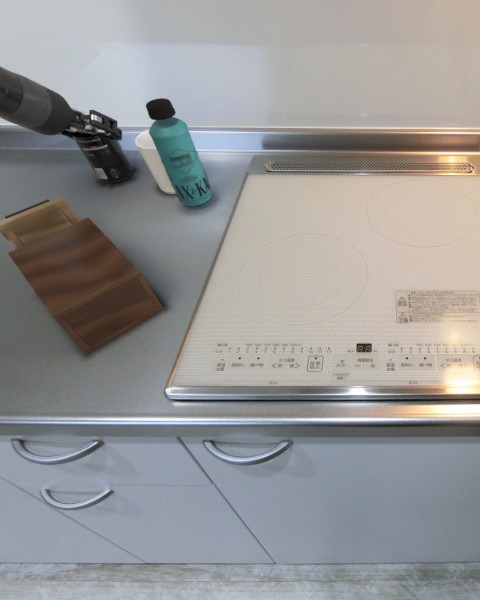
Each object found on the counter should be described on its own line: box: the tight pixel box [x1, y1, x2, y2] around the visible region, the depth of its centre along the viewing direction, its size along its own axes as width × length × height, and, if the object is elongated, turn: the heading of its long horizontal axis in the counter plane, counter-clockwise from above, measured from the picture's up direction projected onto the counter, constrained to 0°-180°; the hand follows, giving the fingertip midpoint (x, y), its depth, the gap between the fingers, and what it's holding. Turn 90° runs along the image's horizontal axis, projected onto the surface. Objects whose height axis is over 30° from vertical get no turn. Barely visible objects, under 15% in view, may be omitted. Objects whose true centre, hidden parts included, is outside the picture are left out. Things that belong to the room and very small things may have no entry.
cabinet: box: [7, 217, 164, 354], centre depth 66 cm, size 18×12×9 cm, turn 47°
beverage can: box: [72, 122, 133, 184], centre depth 88 cm, size 7×7×12 cm
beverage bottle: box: [145, 97, 212, 207], centre depth 79 cm, size 6×7×20 cm
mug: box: [134, 128, 177, 195], centre depth 87 cm, size 11×9×10 cm
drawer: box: [0, 195, 80, 250], centre depth 72 cm, size 21×10×7 cm, turn 47°
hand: (98, 135), depth 87 cm, fingers open, 8 cm apart
